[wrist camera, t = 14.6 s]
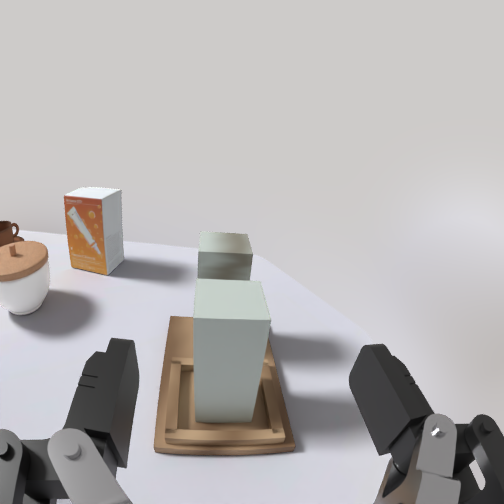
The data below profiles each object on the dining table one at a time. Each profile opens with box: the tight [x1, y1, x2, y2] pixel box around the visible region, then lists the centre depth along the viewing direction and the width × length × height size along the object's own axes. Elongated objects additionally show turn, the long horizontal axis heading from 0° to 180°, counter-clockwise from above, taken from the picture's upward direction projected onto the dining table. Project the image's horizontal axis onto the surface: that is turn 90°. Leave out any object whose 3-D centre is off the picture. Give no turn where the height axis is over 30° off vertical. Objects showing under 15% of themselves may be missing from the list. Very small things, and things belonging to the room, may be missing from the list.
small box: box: [64, 187, 124, 276], centre depth 46 cm, size 8×6×13 cm
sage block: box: [193, 278, 271, 423], centre depth 24 cm, size 5×5×12 cm
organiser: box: [154, 232, 295, 455], centre depth 28 cm, size 12×19×13 cm, turn 7°
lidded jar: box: [0, 241, 50, 315], centre depth 33 cm, size 11×11×9 cm
